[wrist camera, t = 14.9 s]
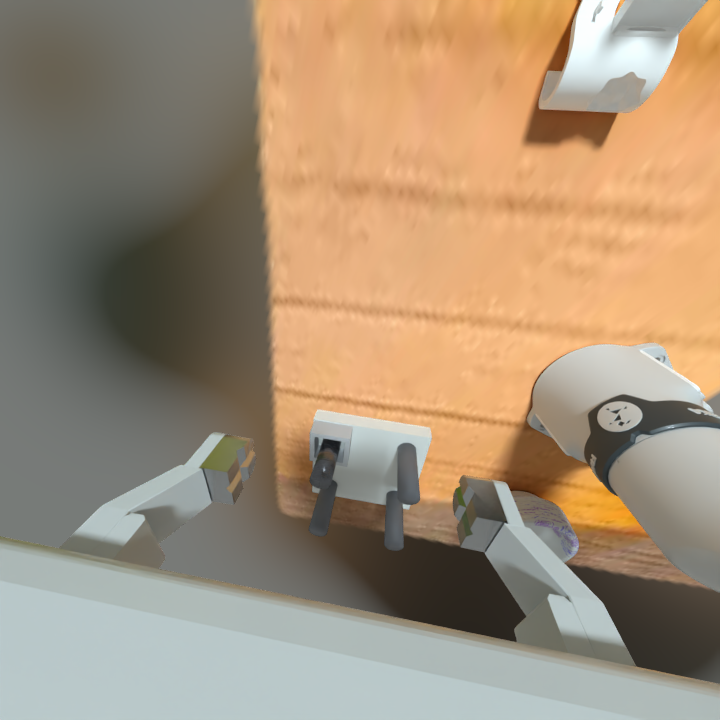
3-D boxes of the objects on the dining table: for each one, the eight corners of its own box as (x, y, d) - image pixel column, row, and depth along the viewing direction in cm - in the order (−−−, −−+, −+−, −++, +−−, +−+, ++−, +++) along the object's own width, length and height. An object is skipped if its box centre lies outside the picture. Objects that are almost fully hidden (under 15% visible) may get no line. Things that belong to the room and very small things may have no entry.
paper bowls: (457, 509, 56) (465, 551, 49) (508, 469, 49) (526, 511, 42) (517, 535, 58) (533, 579, 51) (574, 500, 50) (602, 546, 44)
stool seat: (430, 427, 46) (439, 486, 36) (408, 498, 56) (410, 559, 46) (317, 409, 47) (296, 461, 37) (315, 481, 57) (298, 538, 47)
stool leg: (345, 437, 46) (335, 482, 39) (335, 446, 48) (323, 492, 40) (331, 427, 46) (317, 471, 38) (320, 436, 47) (305, 481, 39)
